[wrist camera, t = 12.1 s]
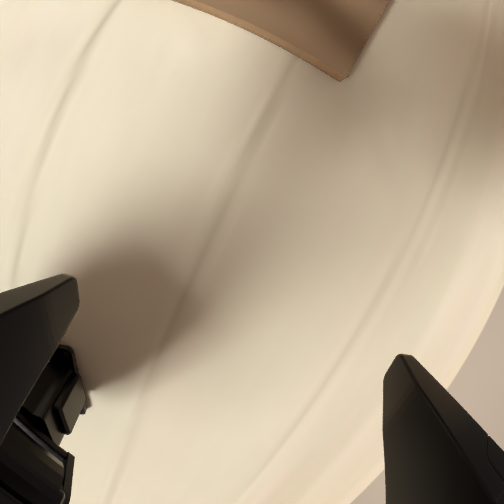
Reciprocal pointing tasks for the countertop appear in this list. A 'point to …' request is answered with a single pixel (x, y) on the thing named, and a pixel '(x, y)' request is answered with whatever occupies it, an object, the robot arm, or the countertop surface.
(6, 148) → the countertop surface
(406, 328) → the countertop surface
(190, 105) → the countertop surface
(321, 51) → the pin board
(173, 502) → the countertop surface
